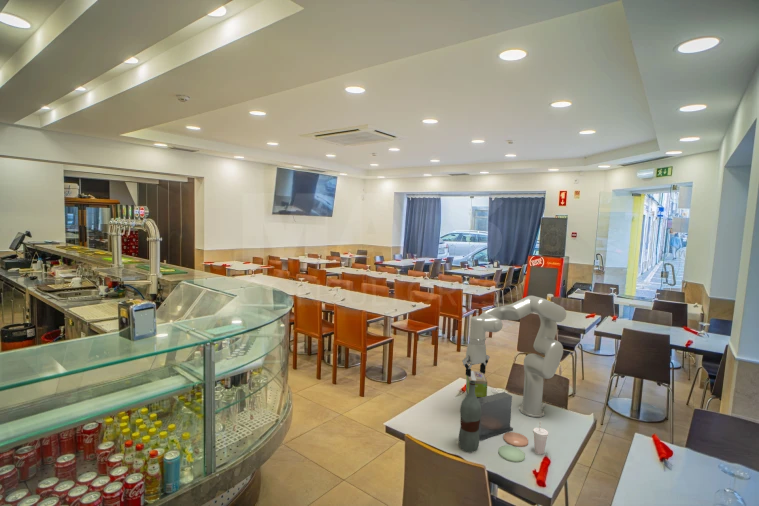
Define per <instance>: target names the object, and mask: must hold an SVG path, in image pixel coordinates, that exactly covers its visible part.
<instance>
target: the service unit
mask: <svg viewBox="0 0 759 506" xmlns="http://www.w3.org/2000/svg"><path fill="white" fill-rule="evenodd" d="M477 399H478V401H479V402H480V405H481V417H480V424H479V439H480V441H479V442H481V441H484V440H487V439H491V438H494V437H497V436H500V435H504V434H505V433H508V432H514V427H512V426H511V420H512V419H511V417H512V405H513V395H511V394H510V393H508V392H505V391H502V392H498V393H495V394H491V395H487V396H486V397H482V398H477Z"/></svg>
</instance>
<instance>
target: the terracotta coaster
mask: <svg viewBox="0 0 759 506" xmlns="http://www.w3.org/2000/svg"><path fill="white" fill-rule="evenodd" d="M502 438H503V441H504V442H505V443H506V444H508V445H509V446H514V447H517V448H524V447H527V446H528V444H529V439H528V437H526V436H525V435H524V434H523V433H518V432H515V431H510V432H507V433H504V434H503V437H502Z"/></svg>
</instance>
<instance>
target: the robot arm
mask: <svg viewBox="0 0 759 506" xmlns="http://www.w3.org/2000/svg"><path fill="white" fill-rule="evenodd" d="M533 313H534V314H537V315H538V317H539V320H540V325H539V329H538V332H537V334H536V337H535V340H534V342H533V349H534V350H535V351H536V352H538V353H540V354H541V355H544V357H543V356H541V355H539V354H536V353H527V354H526V355H525V357H524V359H523V370H524V382H523V395H522V405H519V409H518V410H519V411H520V413H521V414H522V415H525V416H527V417H530V418H531V417H532V418H542V417H543V416H544V415H545V410H544V409H543V408H544V407H547V406H548V405H547V403H546V402H543V394H544V379H546V380H548V379H549V380H550V379H551V378H553V377H554V376H555V374H556V373H557V370H558V368H559V365H560V362H561V360H562V357H563V355H564V346H563V344H562V343H561V342H560V341H558V340H556V339H555V338H556V334H557V332H558V324H557V323H561V322H563V321H564V320H565V319H566V318H567V311H566V309H565V307H563V306H562V305H559V304H557V303H555V302H553V301H550V300H548V299H546V298H545V297H544V298H543V297H539V296H535V295H528V296H525V297H523V298H521V299H519V300H517V301H515V302H513V303H511V304H507V305H502V306H497V307H493V308H489V309H488V310H486V311H483V312H482V313H481V314H480V315H474V316H472V317H471V318H470V325H469V343H467V347H466V352H465V358H463V359H462V365H463V366H464V368H465V376H466V375H467V376H469V377H471V371H472V369H471V368H472V366H475V365H479V368H480V369H479V371H480V372H481V373H483V374H484V375H485V374H486V368H487V364H488V363H489V360H490V355H487V347H486V339H487V338H486V333H487V332H488V333H497V332H499V331H501V330H502V329H503V325H504V324H503V322H502V321H518V320H520V319H522V318H524V317H527V316H528V315H530V314H533Z"/></svg>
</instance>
